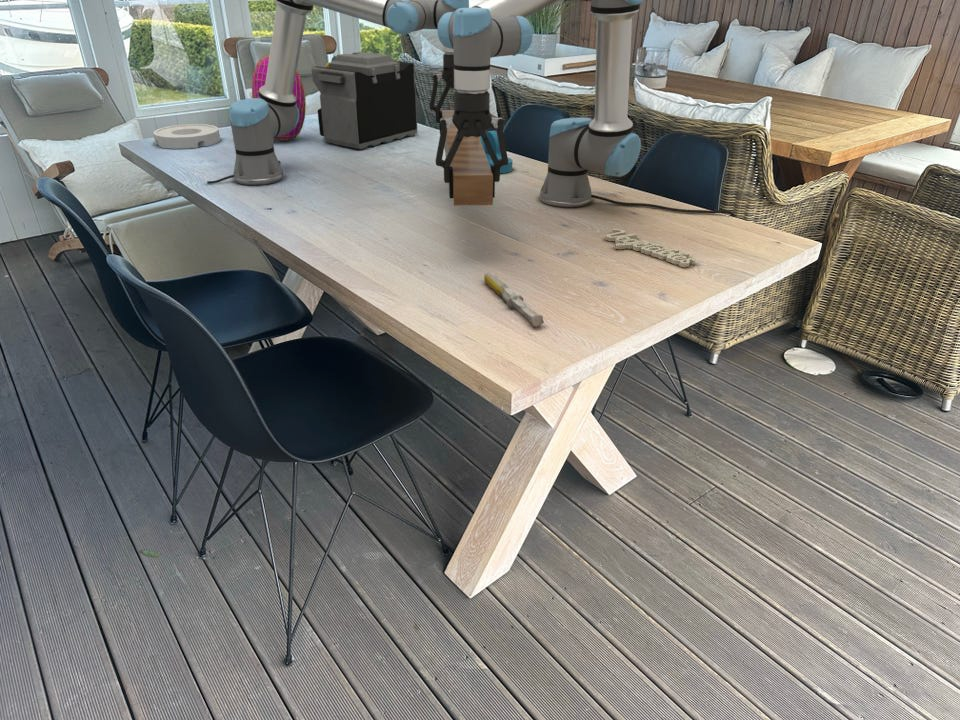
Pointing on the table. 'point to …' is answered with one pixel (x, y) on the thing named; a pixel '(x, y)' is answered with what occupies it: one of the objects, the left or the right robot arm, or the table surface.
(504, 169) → the camera mount
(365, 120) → the cooler box
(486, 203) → the wide beam
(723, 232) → the table surface
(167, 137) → the beige round base
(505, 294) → the syringe
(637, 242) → the decorative sign
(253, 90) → the decorative egg
